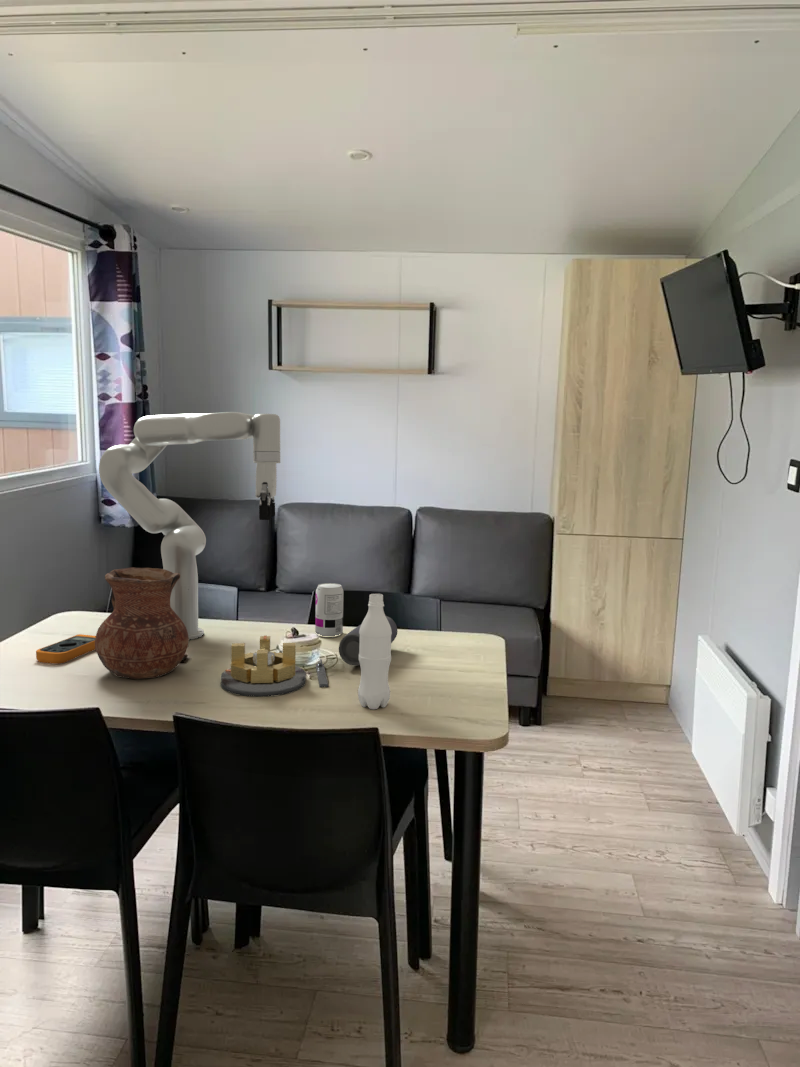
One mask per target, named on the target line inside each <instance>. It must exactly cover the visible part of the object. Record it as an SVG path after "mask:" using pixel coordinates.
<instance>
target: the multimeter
mask: <svg viewBox="0 0 800 1067" xmlns="http://www.w3.org/2000/svg"><path fill="white" fill-rule="evenodd" d="M95 638H96V635H91V634H82V633H80V634H76V635H73V636H70V637H68V638H65V639H63V640H61V641H57V642H55V643H52V644H49V645H47V646H43V647H41V648H38V649H36V651H35V656H36V658H35V659H36V661H37V662H39V663H44V664H51V665H60V664H65V663H68V662H69V661H71V660H74V659H77V658H78V657H81V656H83V655H86V654H88V653H91V652H93V651H96V649H95Z"/></svg>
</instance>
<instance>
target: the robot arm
mask: <svg viewBox="0 0 800 1067" xmlns="http://www.w3.org/2000/svg"><path fill="white" fill-rule="evenodd" d="M133 434H134V438H133V439H132V440H131V441H130V443H129V444H118V445H112V446H111V447H109V448H107V449H106V450H105V451H103V454H102V455H101V457H100V460H99V463H98V474H99V478H100V480H101V483H102V484H103V487H104V488H105V489H106V490H107V492H108V493H109V494H110V495H111V496H112V497H113V498H114V499H115V501H116V502H118V503H119V504H120V505H121V507H122V508H123V509H124V510H125V511H126V512H127V513H128V514H129V515H130V516H131V517H132V519H134V520H135V522H136V523H137V524H138V525H139V526H140V527H141V528H142V529H143V530H145V532H148V533H150V534H159V533H162V534H163V538H162V541H161V544H160V554H161V559H162V560H161V561H162V567H163V568H162V569H165V570H168V571H170V572H172V573H179V574H180V575H181V576H180V578H179V579H178V581H177V582H176V584H175V586H174V587H173V589H172V593H171V597H170V606H171V608H172V609H173V611H174V612H175V613H176V614H177V615H178V616H179V618H180V619H181V620H182V621H183V623H184V624H185V626H186V629H187V632H188V637H189V641H190V639H191V640H195V639H194V638H196V639H199V638H202V637H203V636H204V635H203V634H205V633H204V632H205V631H204V629H202V628H201V627H199V576H198V574H199V573H198V572H199V571H198V566H197V565H198V564H197V557H196V556H198V555H199V554H201V553H202V552H203V551H204V549H205V547H206V543H207V538H206V534H205V533H204V531H203V529H202V528H201V527H200V526H199V524H197V523H196V521H195V520H194V519H192V517H191V516H190V515H189V514H188V513H187V512H186V511H185V510H184V509H183V508H182V507H181V506H180V505H179V504H178V503H177V502H175V501H173V500H171V499H169V498H157V497H156V496H155V495H154V494H153V493H152V492H151V491H150V490H149V489H148V488H147V487H146V486H145V485H144V483H142V482H141V481H140V480H138V479H137V478H136V477H135V476H134V475H133V474H138V473H142V471H144V470H145V469H147V468H148V466H150V464H152V463H153V462H154V461H155V459H156V458H157V457H158V456H159V455H160V454H161V453H162V452H163V450H165V448H167V446H171V445H191V444H193V445H194V444H197V443H200V442H208V441H210V442H211V441H230V440H232V441H234V440H247V439H248V440H249V439H252V441H253V443H252V444H253V448H252V449H253V453H252V454H253V455H252V458H253V461H252V462H253V464H256V469H255V492H254V493H255V496H254V497H255V498H256V499H259V506H258V508H259V510H258V515H259V516H258V517H259V519H258V520H260V521H271V520H272V517H275V516H276V502H275V499H276V498H275V497H276V496H277V464H280V463H281V419H280V416H279V415H278V414H276V413H256V414H252V413H251V414H250V413H245V412H239V411H223V412H209V413H207V412H206V413H193V412H191V413H173V414H155V415H154V414H153V415H145V416H142V417H139V418H138V419H137V420H136V422H135V423H134V426H133ZM202 635H203V636H202ZM198 637H199V638H198Z"/></svg>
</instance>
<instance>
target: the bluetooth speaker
mask: <svg viewBox="0 0 800 1067" xmlns="http://www.w3.org/2000/svg"><path fill="white" fill-rule="evenodd" d="M385 616H386V618H387V620H388V622H389V624H390V626H391V630H392V634H391V644H393V643H394V641H395V640H396V638H397V636H398V627H397V624H396V622H395V621H394V620H393V618H392V617H390V616H387V615H385ZM360 626H361V624H359V625H358V626H356V627H355V628H354V629H352V630H351V631H349V632H348V633H346V635H344V636H343V638H342V639H341V640H340V642H339V645H338V654H339V656H340V658H341V660H342V661H343V662H344V663H346V664H347V665H349V666H360V662H359V642H360V634H359V630H360Z"/></svg>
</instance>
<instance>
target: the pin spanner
mask: <svg viewBox="0 0 800 1067" xmlns="http://www.w3.org/2000/svg"><path fill="white" fill-rule="evenodd" d="M315 669H316V670H315V671H316V676H317V679H318V680H317V681H318V686H319V688H328V687H329V682H328V679H327V673H326V669H325V664H324V663H323V659H317V663H316V664H315Z"/></svg>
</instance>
